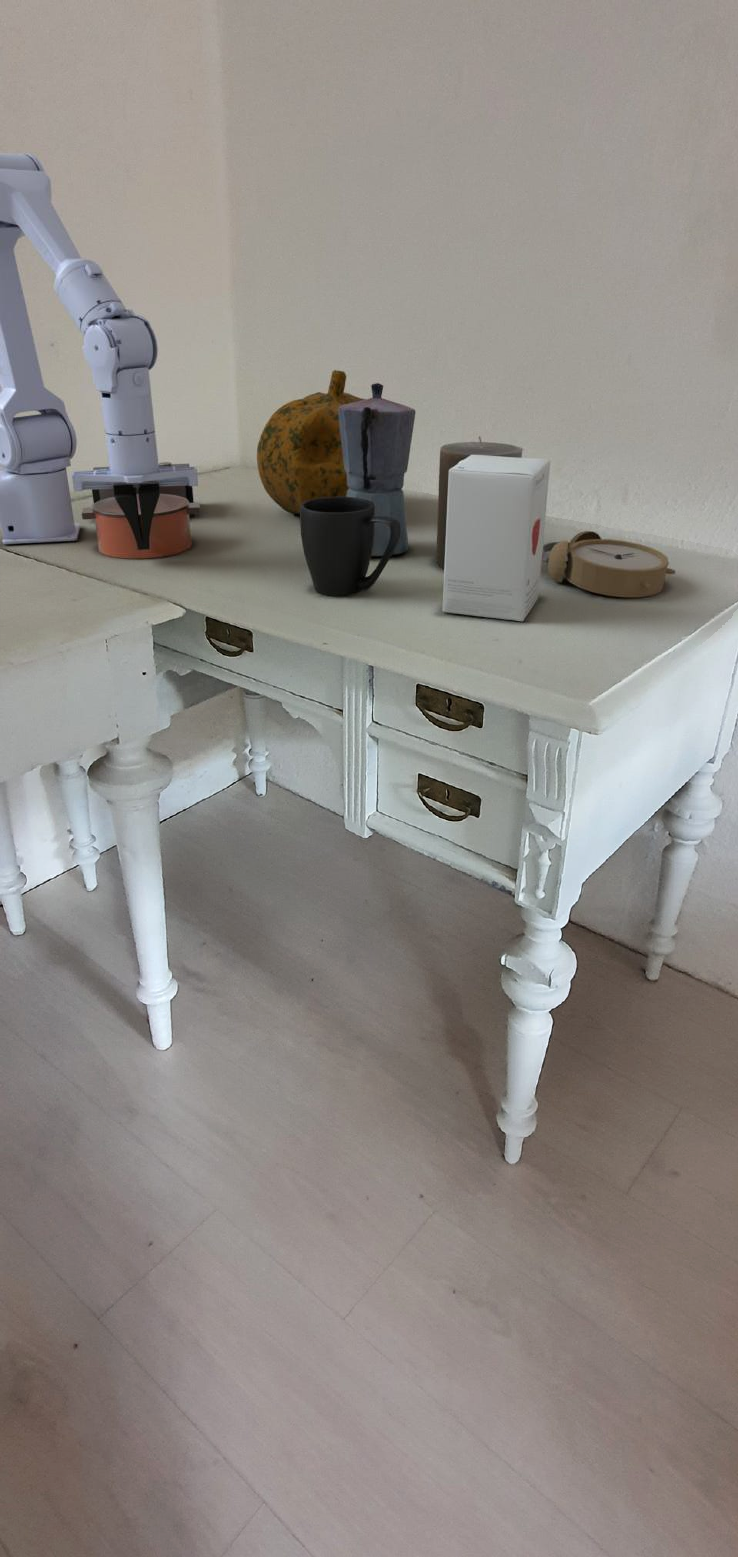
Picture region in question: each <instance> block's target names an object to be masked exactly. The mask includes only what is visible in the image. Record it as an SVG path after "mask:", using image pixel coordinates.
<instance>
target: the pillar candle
mask: <svg viewBox="0 0 738 1557" xmlns="http://www.w3.org/2000/svg"><path fill="white" fill-rule="evenodd" d="M478 440H479V441H464V442H463V441H462V442H452V443H447V444H443V445H442V446H440V449H439V467H438V470H439V471H438V496H437V497H438V498H437V501H438V502H437V519H436V521H437V523H436V565H438V567H440V568H441V569H444V567H445V545H446V522H447V500H448V478H449V470H450V469H451V468H452V467H454V466H456V465H457V464H458V463H459V462H460V461H462V460H464V459H466V458H467V457H469V456H470V455H487V456H501V457H515V458H523V451H524V448H523V447H521V446H517V445H513V444H509V443H502V442H501V443H500V442H491V441H489V442H488V441H482V438H481V435H479V436H478Z"/></svg>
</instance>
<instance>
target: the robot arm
mask: <svg viewBox="0 0 738 1557" xmlns="http://www.w3.org/2000/svg"><path fill="white" fill-rule="evenodd" d="M25 236H26V238H27V239H28V240H29V242H30V243H31V244H32V246H33V248H35V250H36V251H37V252H38V254H39V255H40V256H41V258H42V259H43V260H44V262H45V263H46V265H48V267H49V268H50V269H51V271H52V272H53V273H54V275H55V278H54V282H53V290H54V293H55V294H56V296H57V298H58V299H59V301H60V302H61V304H62V305H63V307H64V308H65V310H66V312H67V313H68V315H69V316H70V318H71V320H72V321H73V322H74V324H75V326H76V327H77V329H78V331H79V332H80V333H81V335H82V336H83V345H82V346H81V348H82V352H83V357H84V360H85V362H86V364H87V366H88V367H89V370H90V371H91V374H92V380H93V386H95V389H96V391H98V392H99V394H100V395H99V396H100V404H101V410H102V411H101V412H102V417H103V418H102V419H103V429H104V435H105V442H106V449H107V459H108V467H110V468H109V469H100V470H93V469H91V470H82V471H81V470H80V471H72V472H71V475H70V476H71V484H72V489H73V492H83V491H89V490H91V491H92V489H114V497H115V499H116V501H117V503H118V505H119V506H120V508H121V509H122V511H123V513H124V515H125V516H126V518H127V520H128V522H129V524H130V527H131V529H132V531H133V534H134V537H135V540H136V543H137V548H138V550H145V549H150V544H149V537H150V529H151V523H152V519H153V515H154V511H155V508H156V505H157V502H158V499H159V495H160V487H159V486H180V485H189V486H192V487H198V486H199V479H198V469H197V468H198V467H197V466H190V467H167V466H159V455H158V445H157V437H156V426H155V419H154V408H153V398H152V387H151V378H150V370H152V369H153V368H154V366H155V365H156V363H157V361H158V360H157V359H158V350H159V349H158V341H157V337H156V334H155V332H154V329H153V328H152V326H151V323H150V321H149V320H148V319H147V318H146V317H144V316H142V315H139V314H136V313H135V312H134V311H133V310H132V309H127V308H126V306H125V305H124V303H123V301H122V300H121V298H120V297H119V296H118V294H117V293H116V291H115V289H114V287H113V286H112V285H111V283H110V282H109V280H108V278H107V277H106V275H105V274H104V272H103V270H102V268H101V267H100V265H99V264H97V262H95V261H94V260H91V259H87V258H82V256H81V255H80V253H79V251H78V248H76V245H75V244H74V242H73V240H72V238H71V235H70V234H69V232H68V231H67V228H66V227H65V225H64V223H63V222H62V220H61V217H60V216H59V214H58V212H57V210H56V209H55V207H54V204H53V203H52V184H51V178H50V177H49V176H48V174H47V173H46V171H45V169H44V167H43V165H42V163H41V161H40V160H39V159H38V157H36V156H35V155H34V154H32V153H30V152H29V153H28V152H25V153H20V154H18V153H7V152H0V388H1V391H0V467H1V468H2V469H3V470H0V531H1V536H2V544H3V545H14V544H15V545H16V544H34V543H35V544H36V543H38V544H39V543H53V542H73V541H77V540H78V537H79V534H80V530H81V524H80V523H75V519H74V513H73V505H72V499H71V492H70V485H69V478H68V472H67V471H68V470H67V468H68V467H71V465H72V464H71V459H73V458H74V456H75V454H76V450H77V445H78V440H77V434H76V430H75V427H74V425H73V424H72V422H71V420H70V418H69V416H68V413H67V410H66V406H65V402H64V400H62V399H61V398H60V397H59V396H57V395H56V394H54V393H53V392H52V391H50V390H49V389H47V388H46V387H45V384H44V380H43V376H42V371H41V367H40V363H39V357H38V354H37V348H36V345H35V340H34V339H35V338H34V336H33V331H32V327H31V323H30V317H29V313H28V308H27V304H26V300H25V295H24V291H23V286H22V282H21V277H20V273H19V268H18V264H17V260H16V256H15V247H16V245H17V243H18V240H19V239H21V238H22V237H25ZM27 412H38V414H31V415H23V416H16V415H17V414H21V413H27ZM147 481H153V482H147ZM120 482H123V483H120ZM136 487H139V490H138V495H139V503H140V510H141V518H142V530H141V525H140V520H139V513H138V503H137V494H136ZM142 534H143V535H142Z"/></svg>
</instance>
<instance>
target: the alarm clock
mask: <svg viewBox="0 0 738 1557" xmlns="http://www.w3.org/2000/svg"><path fill="white" fill-rule="evenodd" d="M548 552H549V553H548ZM542 562H543V563H544V564H546V565H547V570H548V574H549V577H550V578H551V579H552V580H553V581H555V582H557V583H562V582H563V578H565V579H566V580H567V581H568V582H569V583H570V584H573V585H574V586H575V587H578V588H579V589H583V590H585V591H588V592H591V593H595V594H599V595H604V596H608V597H618V598H643V597H651V596H653V595H656V594H659V593H660V592H661V591H662V590H663V589H664V583H665V579H666V575H675V574H676V570H675V569H672V568H669V567H668V566H669V565H670V564H669V563H670V562H669V559H668V557H667V556H666V555H665V554H664V553H663V552H661V551H659V550H657V549H654V547H651V546H647V545H644V544H641V543H637V542H631V541H626V540H619V539H609V538H602V537H601V536H600V535H599V534H598V533H597V532H595V531H591V530H584V531H580V532H578V533H577V534H575V535H574V536H573V537H572V538H571V539H570V541H568V540H561V541H553V542H547V543H544V544H543V552H542Z"/></svg>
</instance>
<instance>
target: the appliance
mask: <svg viewBox="0 0 738 1557" xmlns="http://www.w3.org/2000/svg"><path fill="white" fill-rule="evenodd" d="M158 464H159V466H167V467H191V466H190V463H172V462H170V461H161V462H158ZM109 468H110V467H109V466H98V467H97V466H95V467H94V466H93V469H92V470H100V469H109ZM147 482H153V481H147ZM120 483H123V482H120ZM159 487H160V494H169V495H176V496H180V497H184V498H186V499H187V500H188V501H189V503H195V501H194V488H193V486H189V485H180V486H159ZM138 490H139V487H136V494H138ZM91 495H92V501H93V504H94V503H96V502H98V501H100V500H103V499H107V498H111V497H114V489H92V490H91ZM189 517H190V518H196V514H189Z"/></svg>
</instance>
